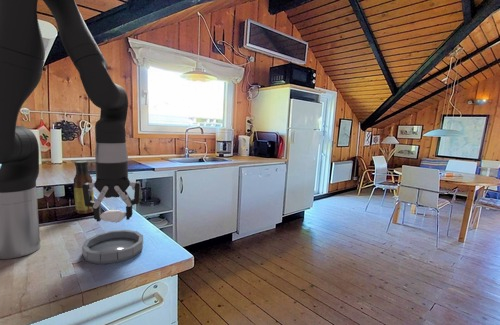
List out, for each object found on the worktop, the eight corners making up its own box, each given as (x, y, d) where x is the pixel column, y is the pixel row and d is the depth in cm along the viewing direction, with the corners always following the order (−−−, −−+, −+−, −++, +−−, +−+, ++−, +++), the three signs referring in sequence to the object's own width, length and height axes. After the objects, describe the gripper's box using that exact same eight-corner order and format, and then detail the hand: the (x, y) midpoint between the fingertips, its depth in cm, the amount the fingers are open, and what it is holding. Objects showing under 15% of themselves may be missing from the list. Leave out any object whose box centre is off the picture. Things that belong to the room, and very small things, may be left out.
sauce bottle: (91, 208, 105) (89, 159, 102) (97, 212, 101) (95, 161, 98) (72, 211, 100) (69, 160, 97) (78, 216, 96) (75, 163, 93)
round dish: (75, 267, 63) (75, 256, 63) (91, 241, 77) (91, 232, 76) (140, 260, 68) (140, 250, 67) (144, 236, 81) (144, 228, 81)
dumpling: (103, 228, 67) (102, 213, 66) (97, 222, 71) (97, 208, 70) (131, 222, 72) (130, 208, 71) (125, 216, 75) (124, 203, 75)
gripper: (75, 161, 63) (79, 227, 65) (139, 161, 67) (141, 222, 70) (84, 157, 70) (87, 216, 72) (142, 157, 74) (143, 213, 77)
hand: (114, 219), depth 71 cm, fingers closed on dumpling, 6 cm apart
